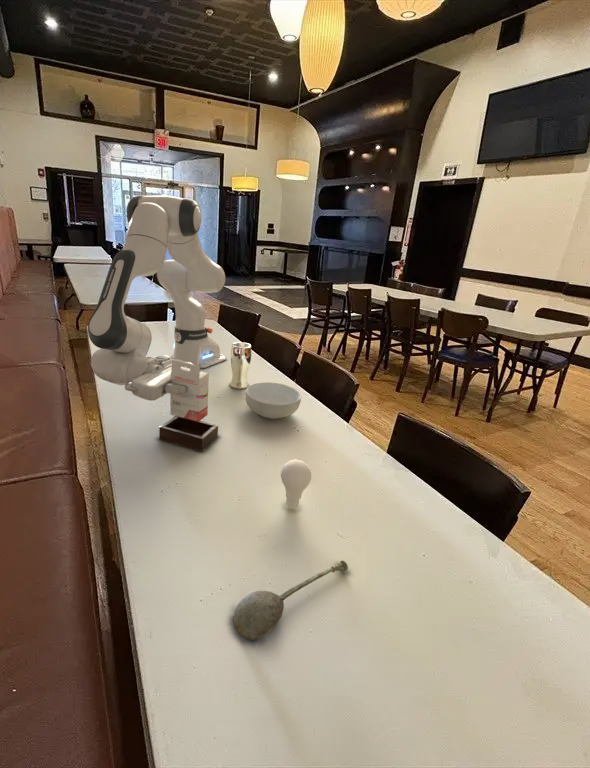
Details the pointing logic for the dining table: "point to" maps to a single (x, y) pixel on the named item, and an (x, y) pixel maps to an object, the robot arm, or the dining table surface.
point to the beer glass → (240, 364)
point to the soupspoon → (268, 607)
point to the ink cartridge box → (189, 391)
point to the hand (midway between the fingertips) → (193, 386)
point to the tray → (188, 433)
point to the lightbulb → (295, 481)
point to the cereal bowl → (272, 399)
